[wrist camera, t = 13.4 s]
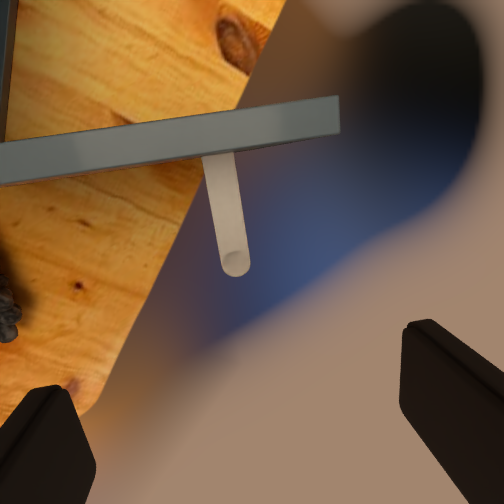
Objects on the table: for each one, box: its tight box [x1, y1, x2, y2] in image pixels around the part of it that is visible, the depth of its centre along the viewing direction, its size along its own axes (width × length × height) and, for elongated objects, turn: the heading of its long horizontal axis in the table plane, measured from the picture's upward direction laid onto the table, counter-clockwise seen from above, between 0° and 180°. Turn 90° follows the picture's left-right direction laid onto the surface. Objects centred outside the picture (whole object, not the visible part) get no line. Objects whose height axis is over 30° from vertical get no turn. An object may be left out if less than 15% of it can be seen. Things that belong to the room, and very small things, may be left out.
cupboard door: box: [0, 95, 340, 277], centre depth 20 cm, size 8×24×24 cm, turn 98°
